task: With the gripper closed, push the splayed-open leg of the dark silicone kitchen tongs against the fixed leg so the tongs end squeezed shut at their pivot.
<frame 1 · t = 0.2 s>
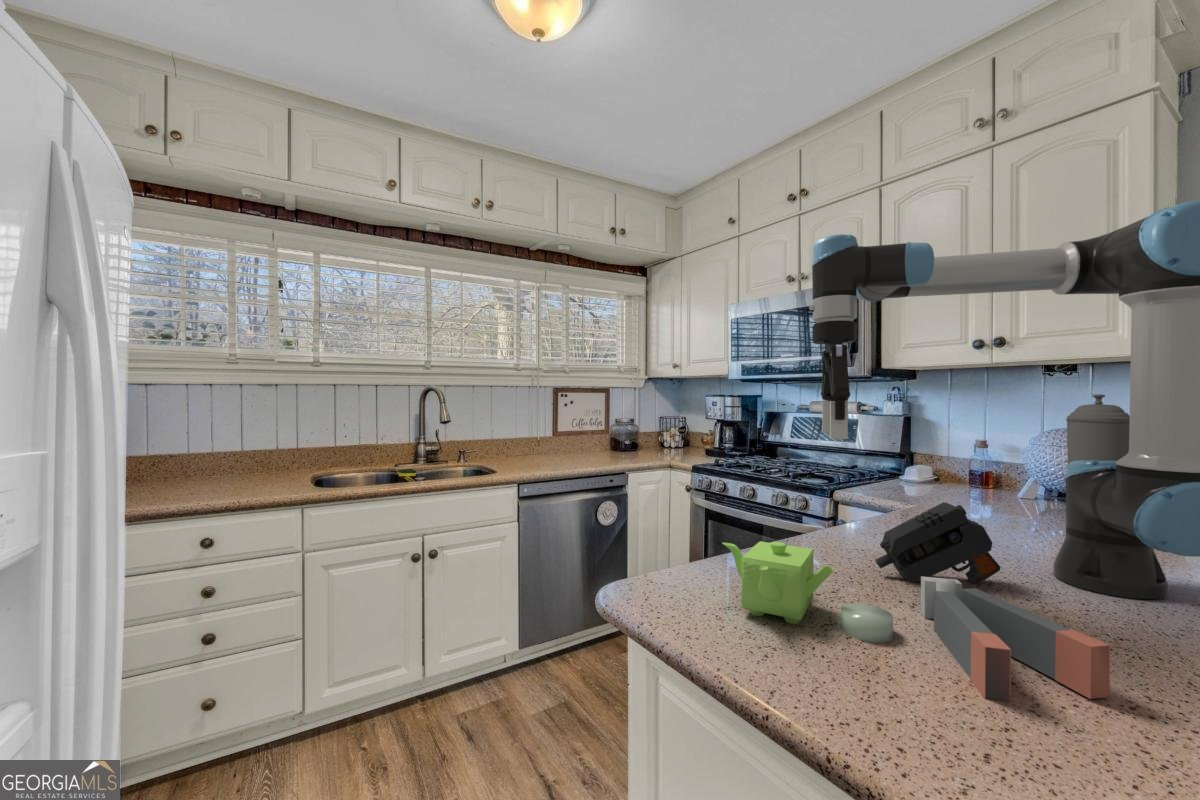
hand: (834, 435, 97), 28 cm above the countertop, fingers open, 13 cm apart
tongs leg: (1025, 635, 69), point 3 cm above the countertop, hinge at 25.0°
canister: (1097, 530, 133), on the countertop
grey-green pebble: (866, 632, 78), on the countertop
tool: (934, 580, 99), on the countertop
kettle: (774, 611, 85), on the countertop
tongs base: (936, 622, 81), on the countertop
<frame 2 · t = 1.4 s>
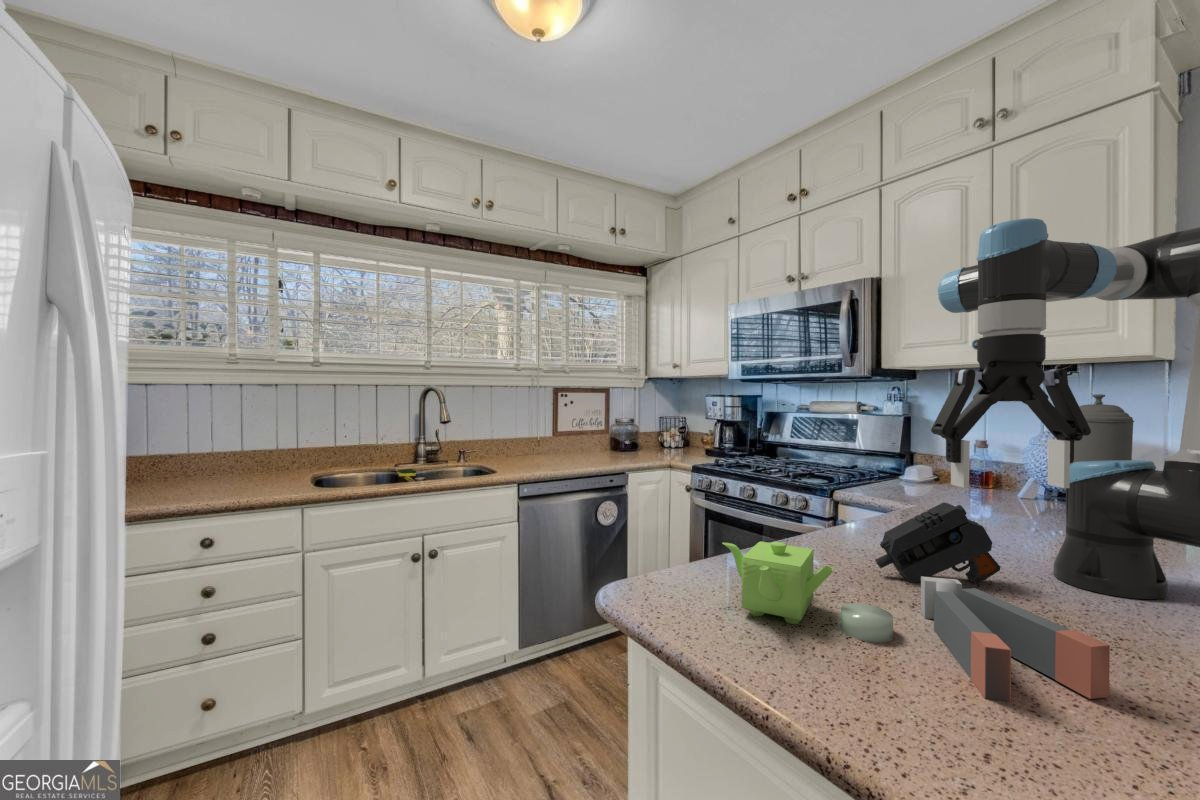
hand: (1008, 486, 73), 23 cm above the countertop, fingers open, 13 cm apart
nothing on the countertop moved.
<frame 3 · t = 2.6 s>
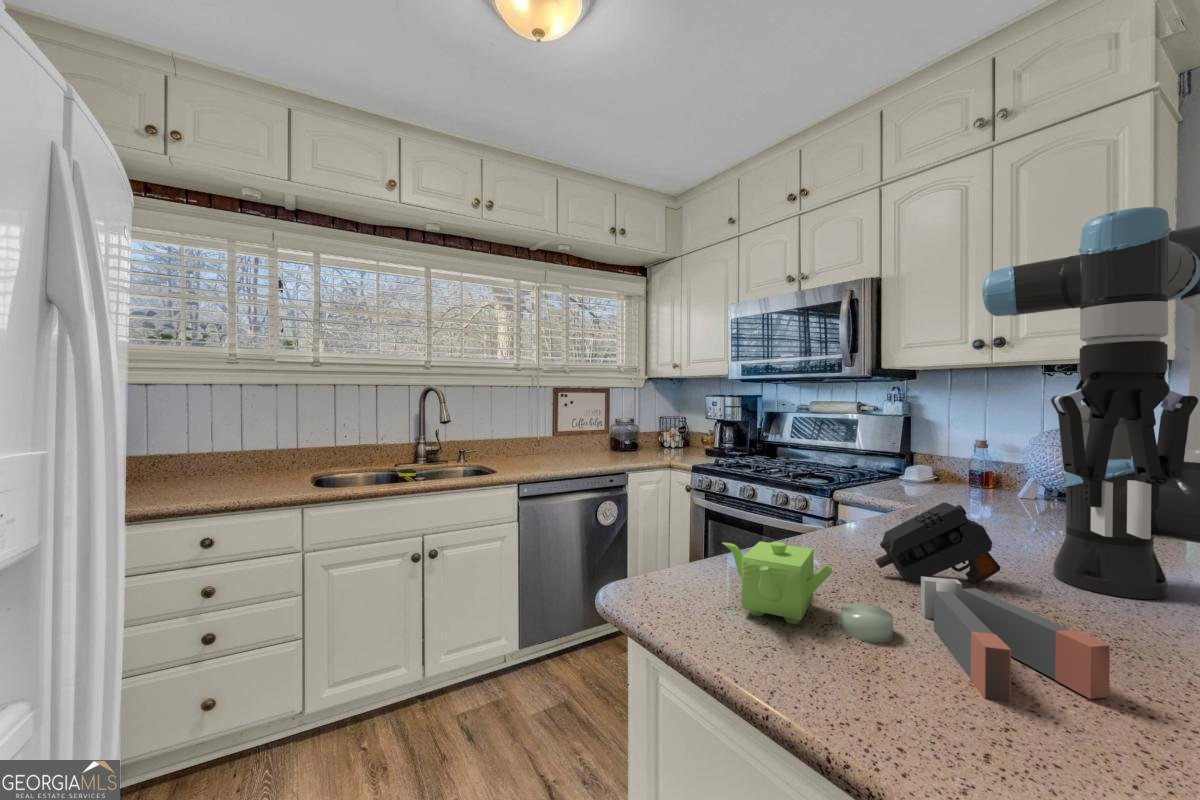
hand: (1119, 534, 63), 19 cm above the countertop, fingers open, 3 cm apart
nothing on the countertop moved.
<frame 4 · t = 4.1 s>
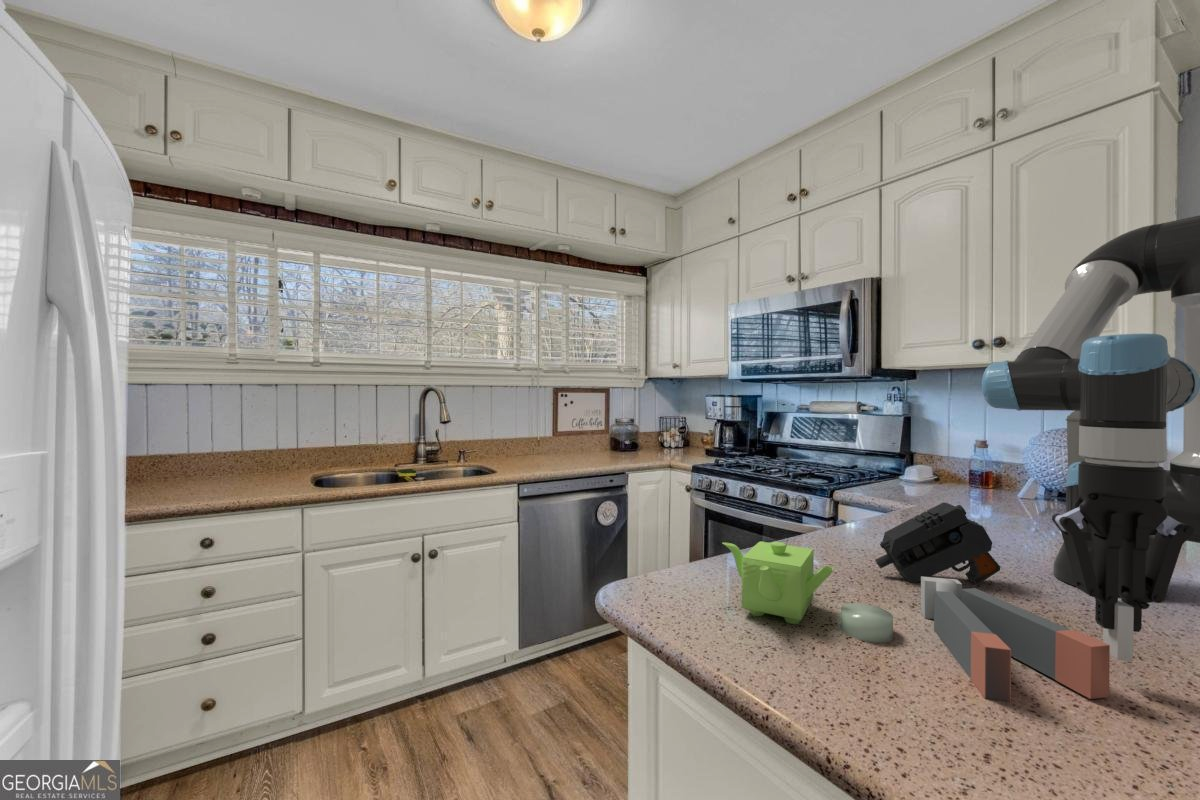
hand: (1117, 655, 63), 4 cm above the countertop, fingers closed
nothing on the countertop moved.
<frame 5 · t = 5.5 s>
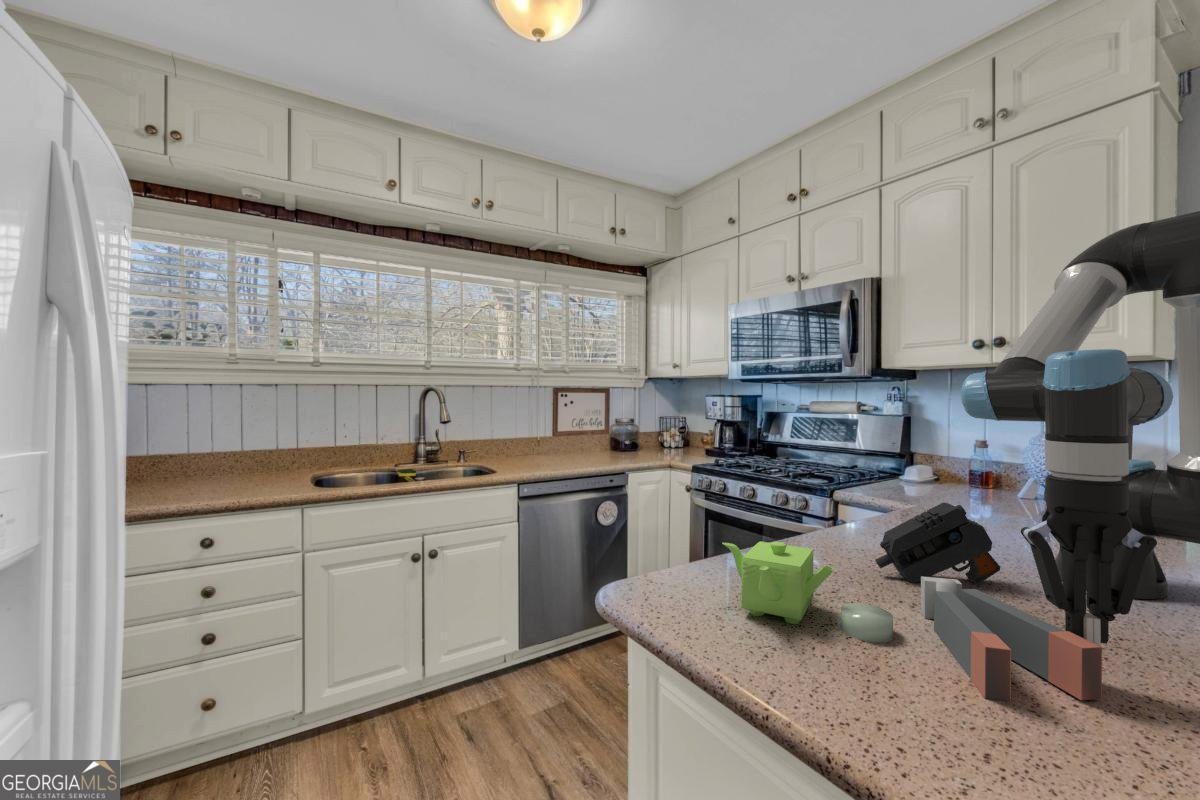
hand: (1086, 666, 64), 2 cm above the countertop, fingers closed
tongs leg: (1021, 636, 69), point 3 cm above the countertop, hinge at 21.4°, touching gripper
everything else where it was.
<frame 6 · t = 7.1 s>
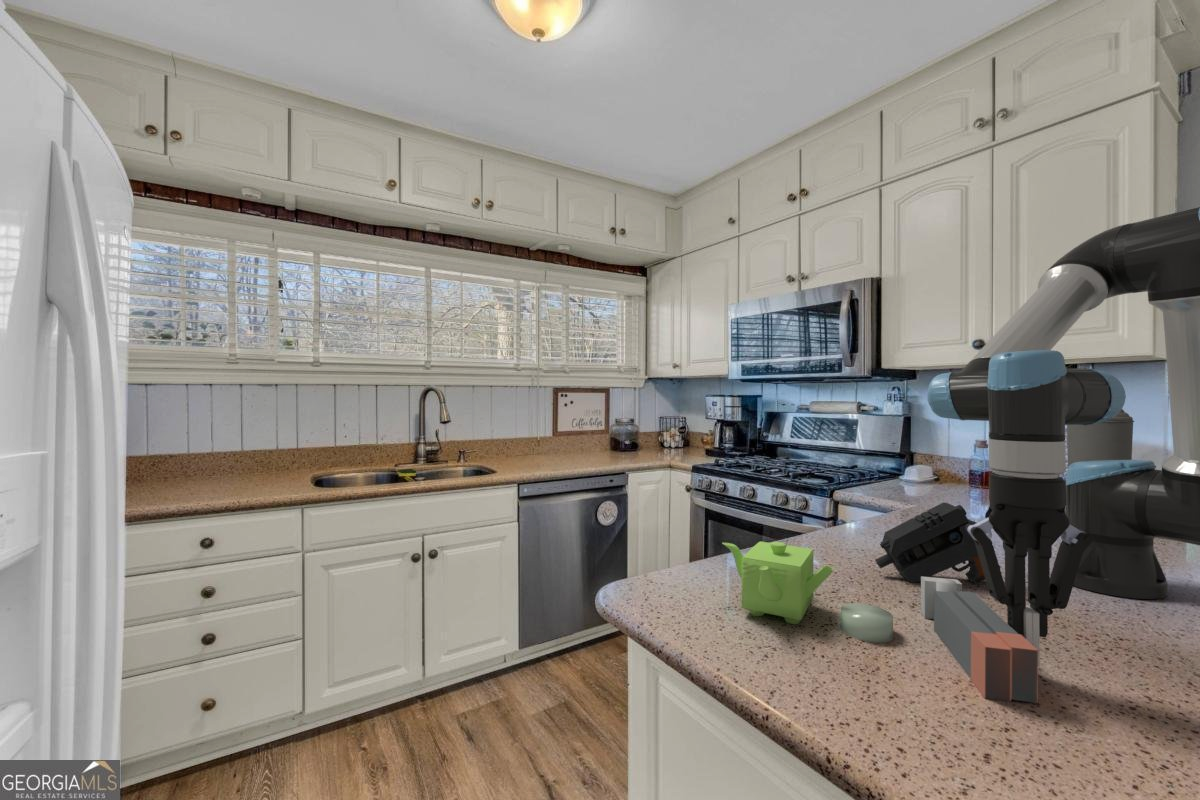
hand: (1027, 660, 65), 2 cm above the countertop, fingers closed
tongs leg: (990, 639, 68), point 3 cm above the countertop, hinge at -0.3°, touching gripper
everything else where it was.
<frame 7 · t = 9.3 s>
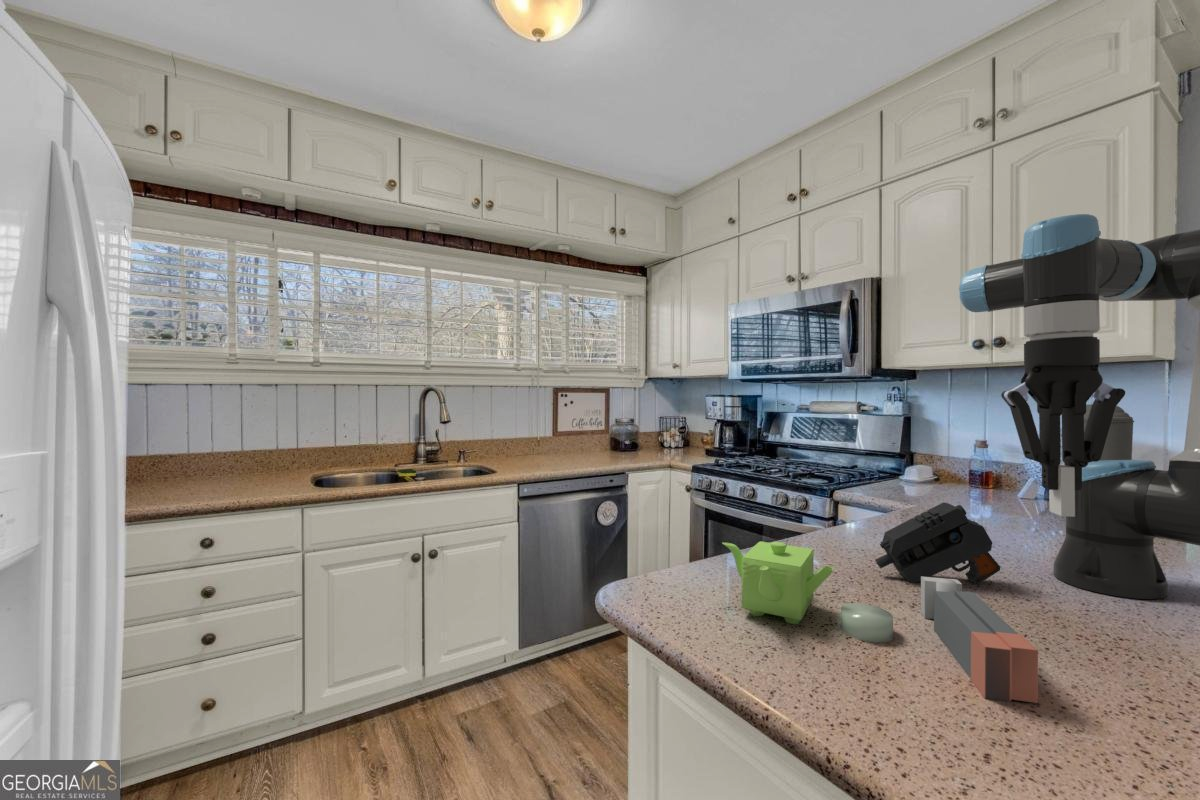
hand: (1061, 513, 69), 20 cm above the countertop, fingers closed
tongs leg: (990, 639, 68), point 3 cm above the countertop, hinge at -0.3°
everything else where it was.
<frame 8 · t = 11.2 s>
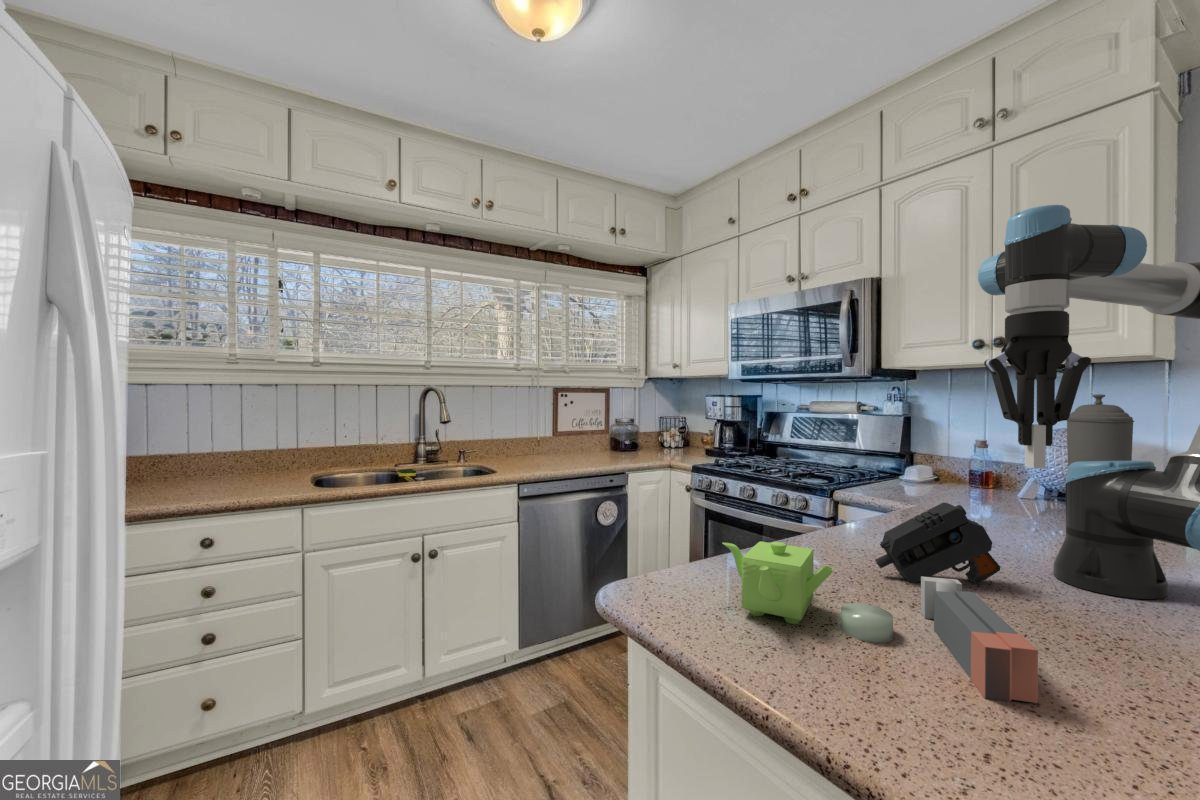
hand: (1034, 467, 79), 24 cm above the countertop, fingers closed
nothing on the countertop moved.
at the end: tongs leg at +0° (first picture: +25°); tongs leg touching nothing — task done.
